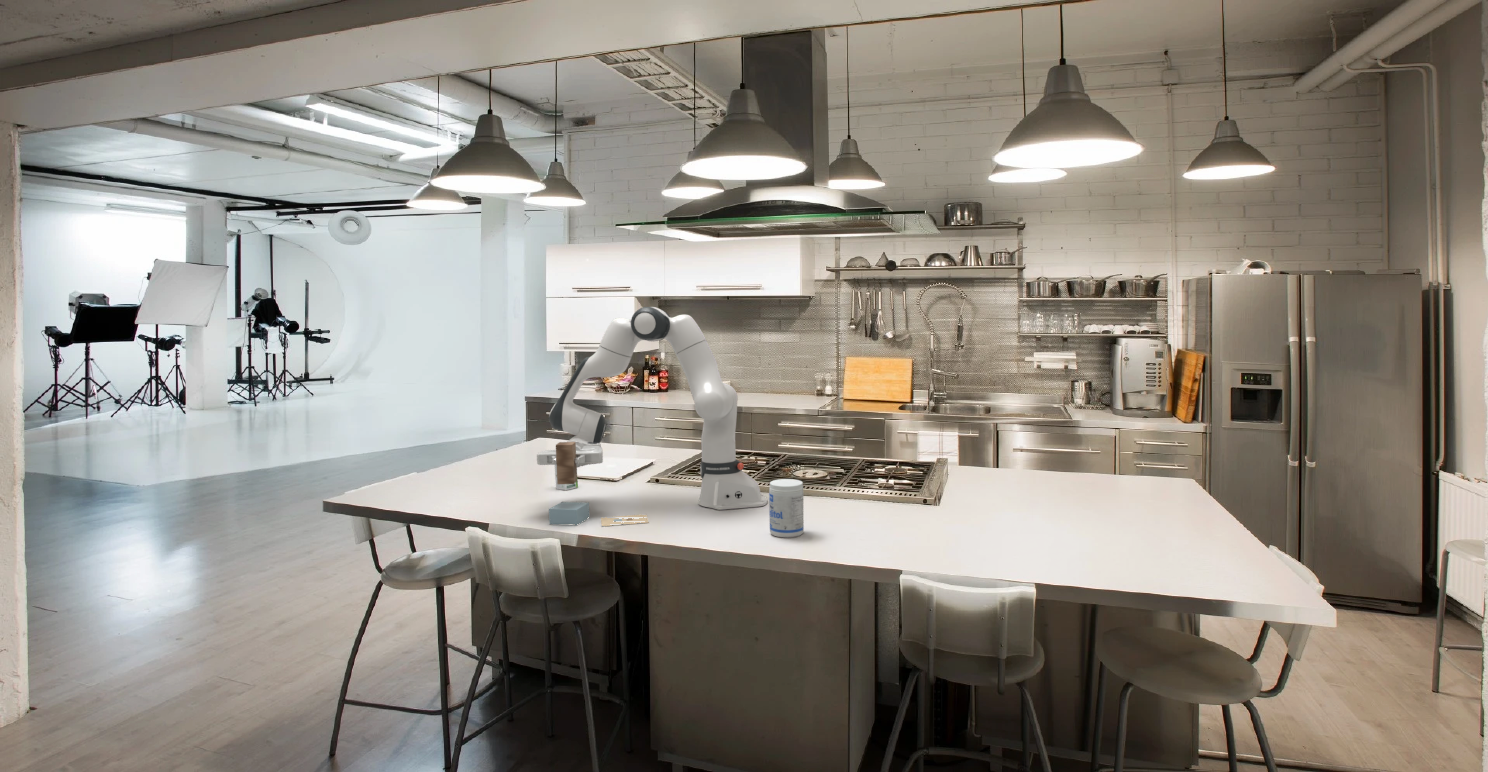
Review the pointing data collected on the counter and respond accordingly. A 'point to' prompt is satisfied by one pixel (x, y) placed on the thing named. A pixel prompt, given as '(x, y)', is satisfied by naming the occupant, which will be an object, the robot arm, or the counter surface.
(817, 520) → the counter surface
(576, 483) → the syrup box
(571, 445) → the block
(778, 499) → the supplement tub
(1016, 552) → the counter surface
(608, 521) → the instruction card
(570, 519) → the brick
